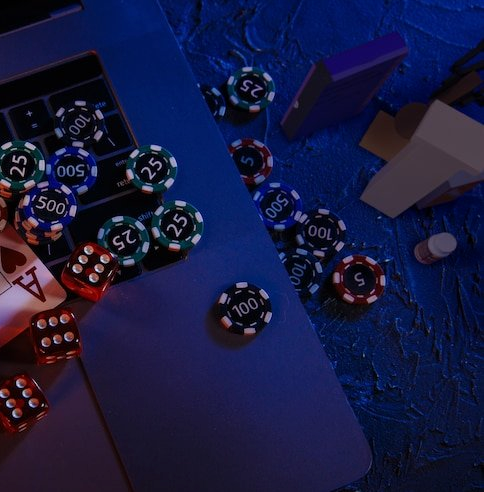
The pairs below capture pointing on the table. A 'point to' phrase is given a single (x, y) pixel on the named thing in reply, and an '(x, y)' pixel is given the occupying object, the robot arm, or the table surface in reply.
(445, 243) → the pill bottle
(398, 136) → the mat
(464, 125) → the stand
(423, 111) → the paddle
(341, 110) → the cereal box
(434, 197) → the small box
